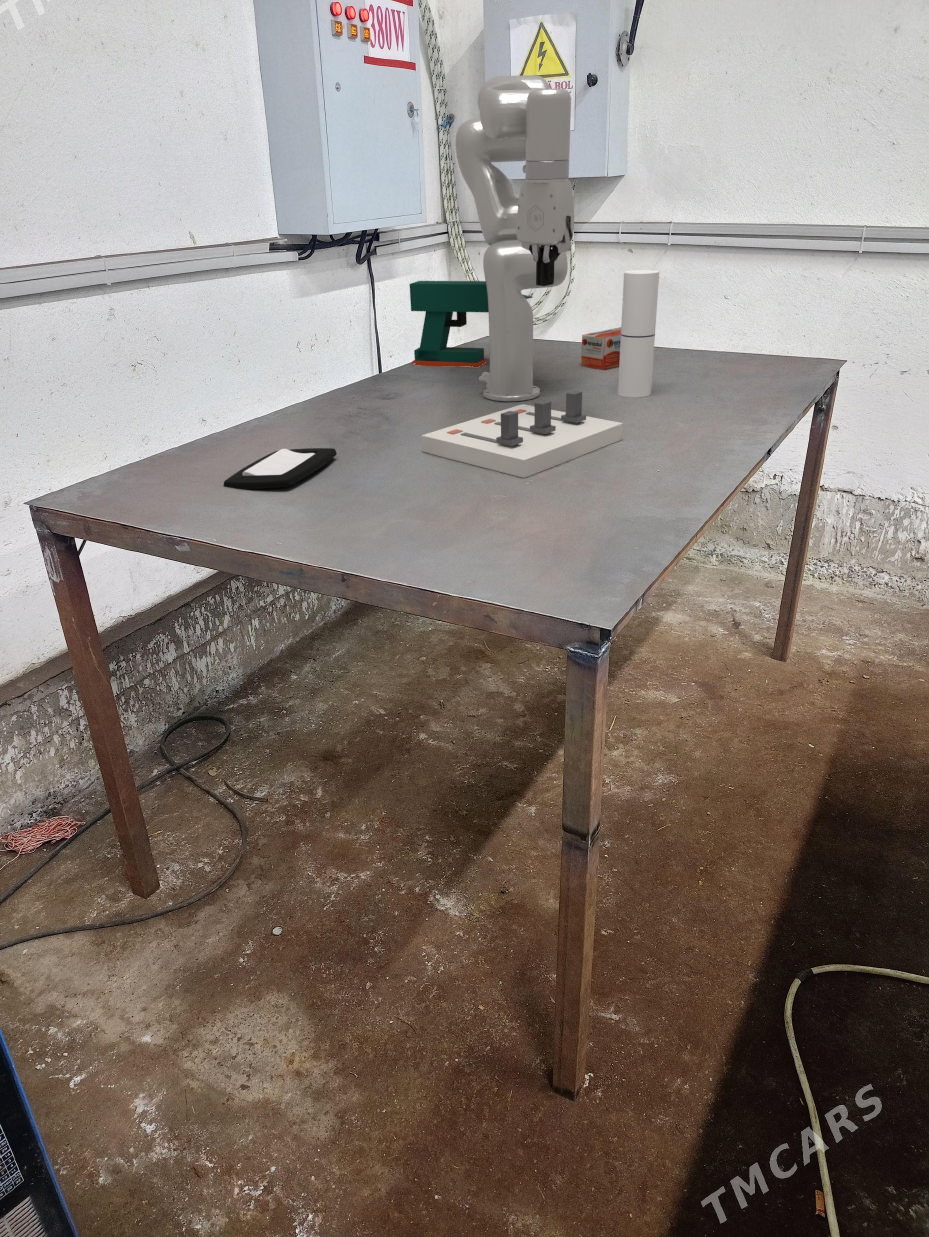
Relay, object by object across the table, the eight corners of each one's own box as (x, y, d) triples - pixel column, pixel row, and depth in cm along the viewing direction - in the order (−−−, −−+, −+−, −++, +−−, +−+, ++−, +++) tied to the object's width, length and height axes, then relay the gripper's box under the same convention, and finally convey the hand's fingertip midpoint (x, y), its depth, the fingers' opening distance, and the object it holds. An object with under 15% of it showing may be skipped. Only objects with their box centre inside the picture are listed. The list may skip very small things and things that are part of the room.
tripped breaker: (496, 442, 146) (495, 413, 144) (507, 438, 148) (506, 409, 145) (512, 445, 144) (512, 416, 141) (523, 442, 146) (523, 412, 143)
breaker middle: (529, 430, 152) (529, 402, 149) (539, 427, 154) (539, 399, 151) (545, 434, 150) (545, 405, 147) (555, 430, 151) (556, 402, 149)
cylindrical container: (614, 396, 186) (620, 273, 175) (621, 389, 192) (628, 269, 181) (647, 398, 184) (655, 273, 172) (653, 390, 190) (662, 270, 178)
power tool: (537, 364, 220) (538, 281, 210) (530, 369, 214) (530, 284, 205) (422, 360, 229) (417, 280, 220) (412, 365, 224) (407, 283, 214)
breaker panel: (422, 451, 155) (421, 434, 153) (522, 419, 172) (522, 403, 171) (524, 477, 140) (524, 458, 138) (622, 439, 157) (623, 422, 156)
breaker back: (561, 419, 157) (561, 392, 155) (570, 416, 159) (571, 389, 157) (576, 423, 155) (577, 395, 153) (586, 419, 157) (586, 392, 155)
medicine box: (619, 357, 224) (621, 326, 220) (644, 361, 219) (646, 329, 215) (579, 366, 216) (580, 334, 212) (603, 371, 210) (605, 337, 206)
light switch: (273, 444, 157) (341, 441, 152) (276, 459, 158) (344, 457, 153) (213, 478, 140) (288, 476, 135) (217, 495, 141) (291, 493, 137)
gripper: (500, 173, 150) (501, 283, 160) (566, 174, 141) (563, 291, 150) (529, 171, 155) (528, 278, 164) (594, 171, 146) (589, 286, 155)
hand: (544, 284), depth 157 cm, fingers closed
